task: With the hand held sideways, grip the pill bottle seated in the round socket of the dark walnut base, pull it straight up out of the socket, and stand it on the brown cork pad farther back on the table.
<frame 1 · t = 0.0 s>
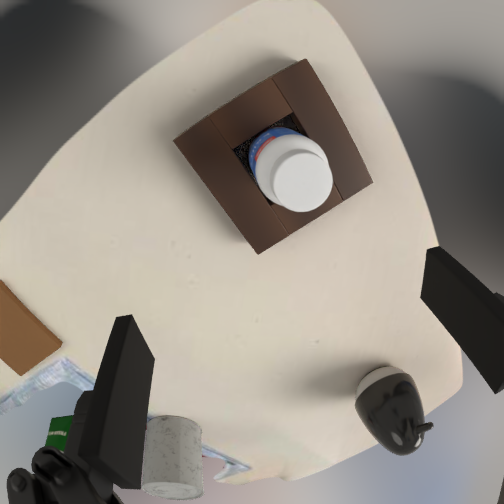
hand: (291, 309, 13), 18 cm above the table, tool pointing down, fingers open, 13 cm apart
cork pad: (11, 332, 34), on the table
concrete cylinder: (174, 429, 47), on the table
socket base: (276, 154, 28), on the table
milk carton: (75, 425, 45), on the table
pill bottle: (275, 154, 28), resting in socket base
black egg-shaped figure: (376, 377, 46), on the table
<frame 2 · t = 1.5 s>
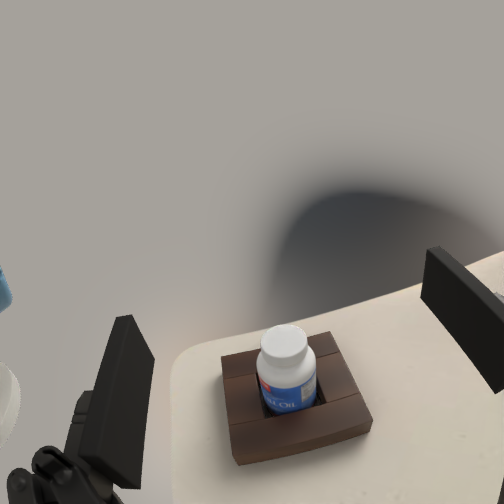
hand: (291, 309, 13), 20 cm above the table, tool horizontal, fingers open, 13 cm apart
socket base: (290, 400, 31), on the table
pill bottle: (291, 401, 31), resting in socket base
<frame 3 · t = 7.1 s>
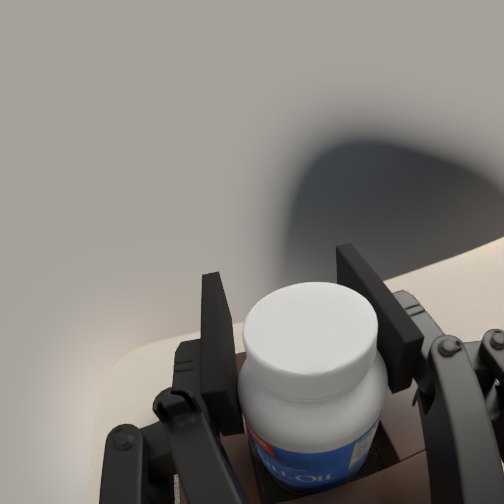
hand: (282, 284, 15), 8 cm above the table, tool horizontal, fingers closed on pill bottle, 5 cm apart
socket base: (315, 453, 14), on the table
pill bottle: (316, 454, 14), resting in socket base, touching gripper
when the fingers open (8 cm above the table, at t = 19.9 s): pill bottle stays where it is, resting on cork pad.
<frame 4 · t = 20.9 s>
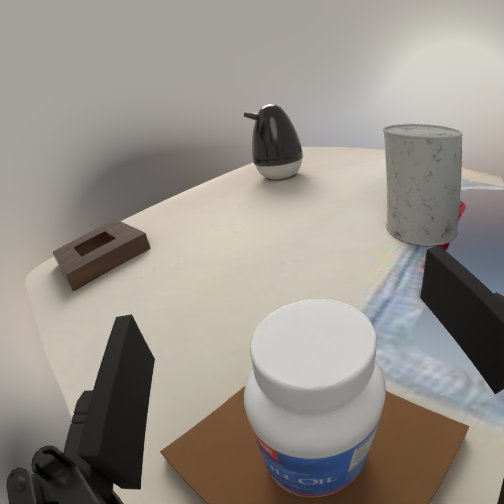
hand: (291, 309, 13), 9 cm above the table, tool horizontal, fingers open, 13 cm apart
cork pad: (316, 462, 15), on the table
concrete cylinder: (422, 229, 35), on the table
socket base: (99, 257, 45), on the table
pill bottle: (317, 458, 14), point 1 cm above the table, touching cork pad
black egg-shaped figure: (280, 176, 64), on the table
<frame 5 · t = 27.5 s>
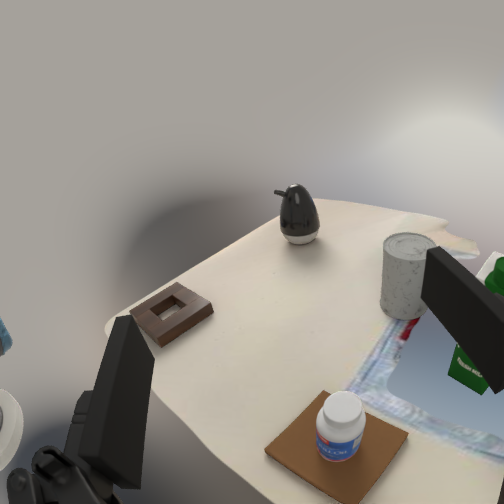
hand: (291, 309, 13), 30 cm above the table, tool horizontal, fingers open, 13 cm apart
cork pad: (337, 447, 33), on the table
concrete cylinder: (404, 303, 54), on the table
socket base: (171, 316, 63), on the table
milk carton: (474, 371, 36), on the table
pill bottle: (338, 445, 32), point 1 cm above the table, touching cork pad
black egg-shaped figure: (301, 240, 82), on the table
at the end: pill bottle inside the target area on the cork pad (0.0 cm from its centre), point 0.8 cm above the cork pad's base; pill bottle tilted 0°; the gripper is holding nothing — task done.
